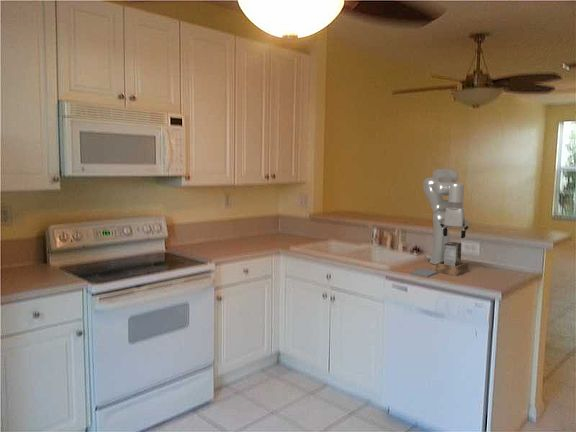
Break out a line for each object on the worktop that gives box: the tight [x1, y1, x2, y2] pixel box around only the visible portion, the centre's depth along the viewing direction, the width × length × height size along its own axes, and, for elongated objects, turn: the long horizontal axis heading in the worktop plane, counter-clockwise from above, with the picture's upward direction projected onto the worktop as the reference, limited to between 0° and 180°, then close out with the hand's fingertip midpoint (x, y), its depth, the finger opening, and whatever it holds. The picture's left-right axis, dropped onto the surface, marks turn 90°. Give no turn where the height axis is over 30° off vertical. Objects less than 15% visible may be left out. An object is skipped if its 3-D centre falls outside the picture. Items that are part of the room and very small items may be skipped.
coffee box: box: [444, 241, 462, 266], centre depth 245 cm, size 9×6×16 cm
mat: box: [410, 268, 438, 278], centre depth 241 cm, size 10×12×1 cm
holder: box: [435, 261, 469, 277], centre depth 246 cm, size 12×14×5 cm
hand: (453, 237), depth 243 cm, fingers open, 9 cm apart
